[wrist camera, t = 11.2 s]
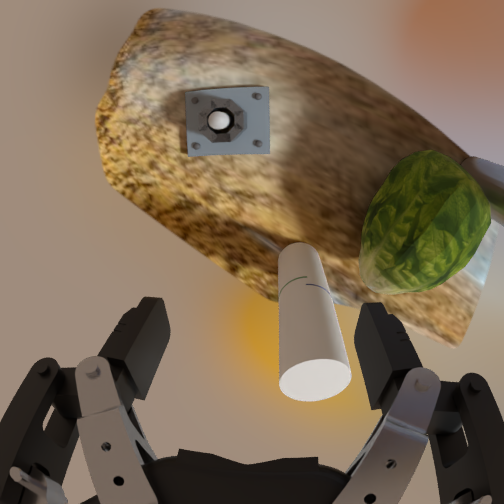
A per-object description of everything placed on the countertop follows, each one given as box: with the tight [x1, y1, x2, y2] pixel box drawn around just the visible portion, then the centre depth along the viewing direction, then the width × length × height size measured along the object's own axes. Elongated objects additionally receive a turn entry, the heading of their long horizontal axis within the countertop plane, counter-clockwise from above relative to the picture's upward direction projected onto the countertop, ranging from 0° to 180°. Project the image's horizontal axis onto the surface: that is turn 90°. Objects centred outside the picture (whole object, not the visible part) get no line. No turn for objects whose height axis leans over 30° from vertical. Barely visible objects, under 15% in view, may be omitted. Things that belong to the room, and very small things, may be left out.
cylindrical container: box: [278, 242, 351, 401], centre depth 35 cm, size 7×7×25 cm
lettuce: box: [359, 150, 491, 294], centre depth 34 cm, size 17×23×17 cm
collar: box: [198, 99, 247, 143], centre depth 33 cm, size 6×6×5 cm
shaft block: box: [185, 87, 270, 157], centre depth 33 cm, size 12×10×8 cm
